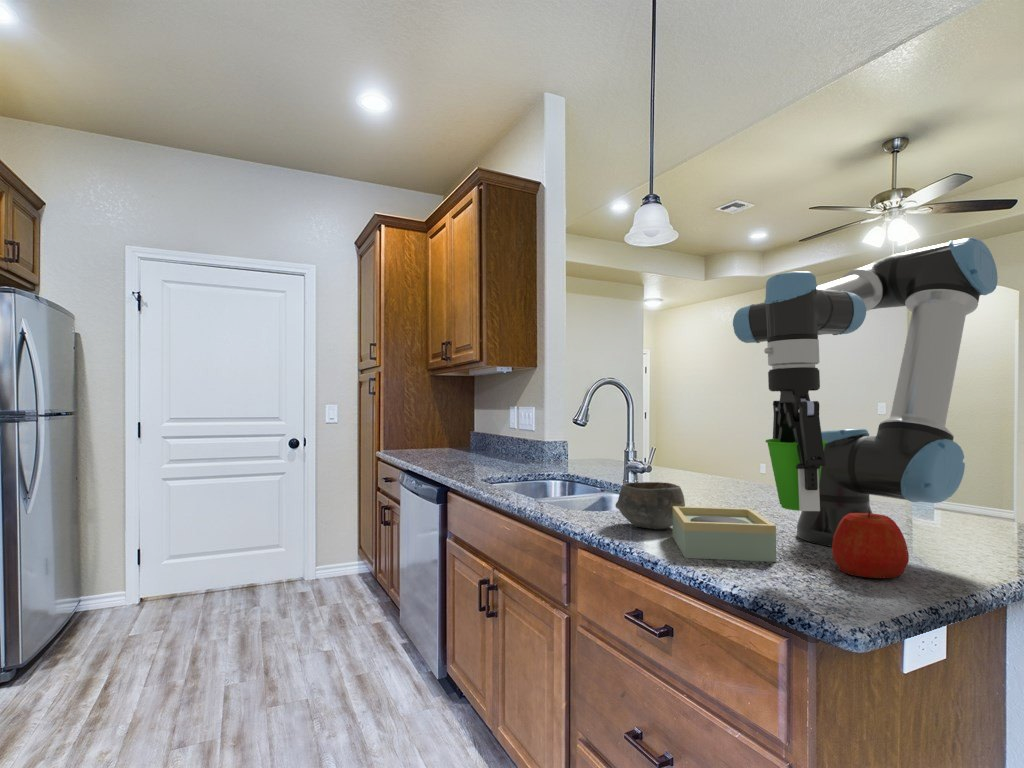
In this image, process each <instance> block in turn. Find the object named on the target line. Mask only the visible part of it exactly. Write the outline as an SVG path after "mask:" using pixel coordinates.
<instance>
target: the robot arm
mask: <svg viewBox="0 0 1024 768" xmlns="http://www.w3.org/2000/svg"><path fill="white" fill-rule="evenodd" d="M998 278H999V277H998V270H997V265H996V261H995V259H994V256H993V254H992V252H991V250H990V248H989V247H988V246H987V244H985V243H984V242H983V241H982V240H981V239H979V238H976V237H965V238H960V239H956V240H954V239H950V240H949V241H948V242H944V243H939V244H935V245H931V246H925V247H922V248H917V249H912V250H908V251H907V250H906V251H904V252H897V253H895V254H890V255H888V256H885V257H882V258H880V259H877V260H875V261H873V262H871V263H868V264H865V265H863V266H861V267H858V268H855V269H854V268H853V269H852V270H849V271H847V272H846V273H845V274H844V275H843V276H842V277H841V278H839V279H835V280H832V281H828V282H826V283H822V284H819V285H818V283H817V280H816V279H817V278H816V276H815V274H814V273H812V272H811V271H806V270H805V271H801V270H800V271H798V270H797V271H787V272H783V273H778V274H774V275H772V276H770V277H769V278H767V280H766V282H765V299H764V302H761V303H756V304H752V303H751V304H750V305H747V306H743V307H740V308H739V309H738V310H736V311H735V314H734V316H733V318H732V327H733V332H734V335H735V336H736V338H737V339H738V340H739V341H741V342H742V343H744V344H745V343H746V344H751V343H756V344H760V343H762V342H763V343H764V342H767V347H766V348H764V350H763V352H764V354H767V364H768V366H770V367H771V369H769V370H768V372H767V375H768V376H767V379H768V390H769V391H770V392H780V395H779V400H773V401H772V406H773V407H772V408H773V422H772V423H773V424H772V427H773V428H772V439H780V442H785V443H793V442H796V443H798V445H797V451H798V456H799V461H800V464H797V465H796V469H798V485H799V510H800V511H799V512H800V515H799V517H798V520H797V524H796V536H797V537H798V538H799V539H801V540H803V541H806V542H808V543H813V544H816V545H817V544H818V545H823V546H828V547H832V543H833V536H834V534H835V531H836V529H837V527H838V524H839V522H840V521H841V519H842V518H843V517H844V516H846V515H847V514H849V513H868V511H870V512H871V513H873V510H872V509H871V504H870V502H871V501H870V499H871V498H870V496H877V497H883V498H890V499H891V498H892V499H897V500H905V501H909V502H911V503H928V504H929V503H930V504H939V503H942V502H945V501H946V500H948V499H949V498H951V497H952V496H953V495H954V494H955V493H956V492H957V491H958V488H959V487H960V486H961V483H962V480H963V478H964V477H963V476H964V474H965V468H966V463H965V462H964V459H965V455H964V451H963V449H962V447H961V446H960V445H959V444H958V443H957V441H956V442H955V441H954V434H953V433H952V432H951V431H950V430H949V429H948V428H947V427H946V423H947V417H948V413H949V408H950V403H951V397H952V392H953V386H954V381H955V376H956V370H957V365H958V359H959V354H960V350H961V349H960V348H961V344H962V339H963V338H962V337H963V331H964V326H965V322H966V317H967V316H968V315H970V314H972V313H973V312H975V311H976V309H977V308H978V306H979V302H980V297H981V296H987V295H990V294H991V293H993V292H994V291H995V290H996V289H997V286H998ZM898 307H899V308H900V307H906V308H907V310H909V311H910V312H911V314H910V315H911V316H910V319H909V320H910V321H909V325H908V326H909V327H908V331H907V335H906V340H905V344H904V349H903V354H902V358H901V363H900V367H899V368H900V369H899V373H898V378H897V382H896V388H895V392H894V397H893V401H892V406H891V412H890V415H889V418H887V419H885V420H883V421H881V422H879V424H878V428H877V433H876V435H875V436H873V435H872V436H871V435H870V433H869V431H868V430H867V429H866V428H853V429H852V428H851V429H848V428H847V429H837V430H836V429H835V430H834V429H833V430H824V431H822V427H821V420H820V402H819V401H818V400H813V401H811V399H810V393H809V392H810V391H818V390H819V389H820V388H821V381H820V380H821V378H820V377H821V376H820V369H819V368H818V367H816V365H819V363H820V341H819V336H822V335H832V336H839V335H847V334H850V333H853V332H855V331H857V330H858V329H859V328H860V327H861V326H862V325H863V323H864V322H865V319H866V316H867V312H869V311H870V310H877V309H884V308H885V309H886V308H887V309H888V308H889V309H890V308H898ZM822 440H825V441H827V443H826V444H825V447H824V449H823V441H822ZM820 466H822V468H821V476H820V483H819V470H818V469H820ZM777 497H778V496H777ZM778 499H779V497H778Z"/></svg>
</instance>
